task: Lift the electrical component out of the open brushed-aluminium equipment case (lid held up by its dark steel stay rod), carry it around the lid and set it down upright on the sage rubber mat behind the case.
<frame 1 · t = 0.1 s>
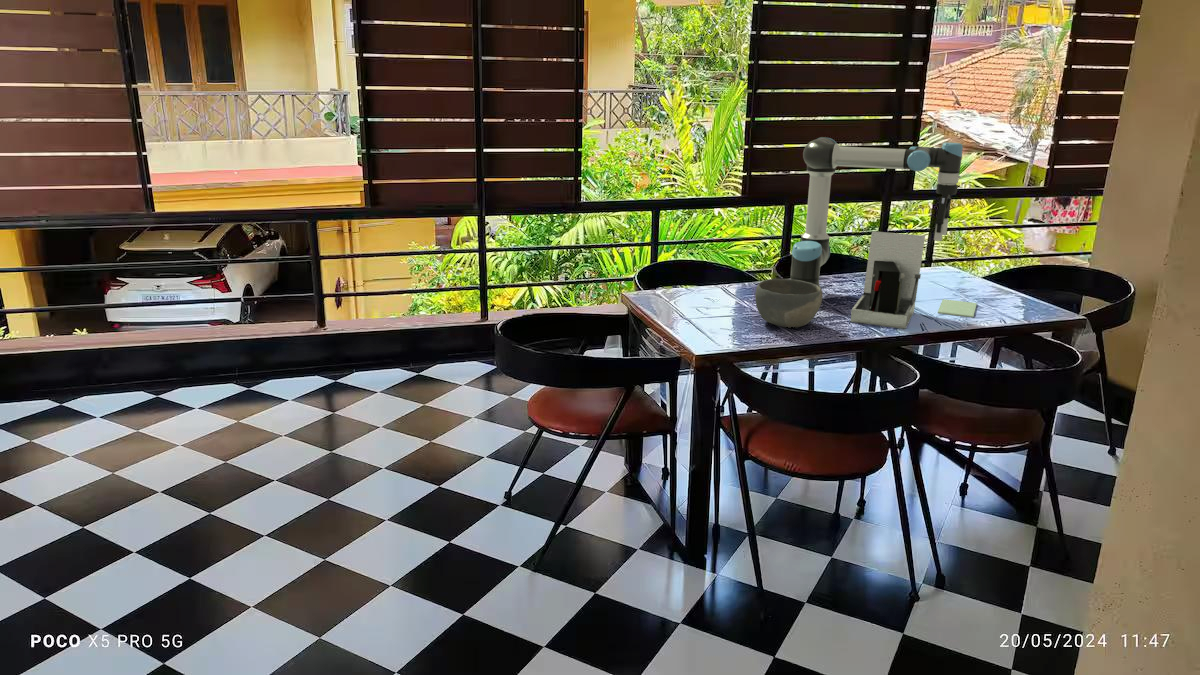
hand: (940, 237, 334), 28 cm above the table, fingers open, 13 cm apart
mat: (957, 308, 339), on the table
bowl: (786, 324, 317), on the table
electrical component: (882, 316, 327), resting on case
case: (882, 316, 327), on the table
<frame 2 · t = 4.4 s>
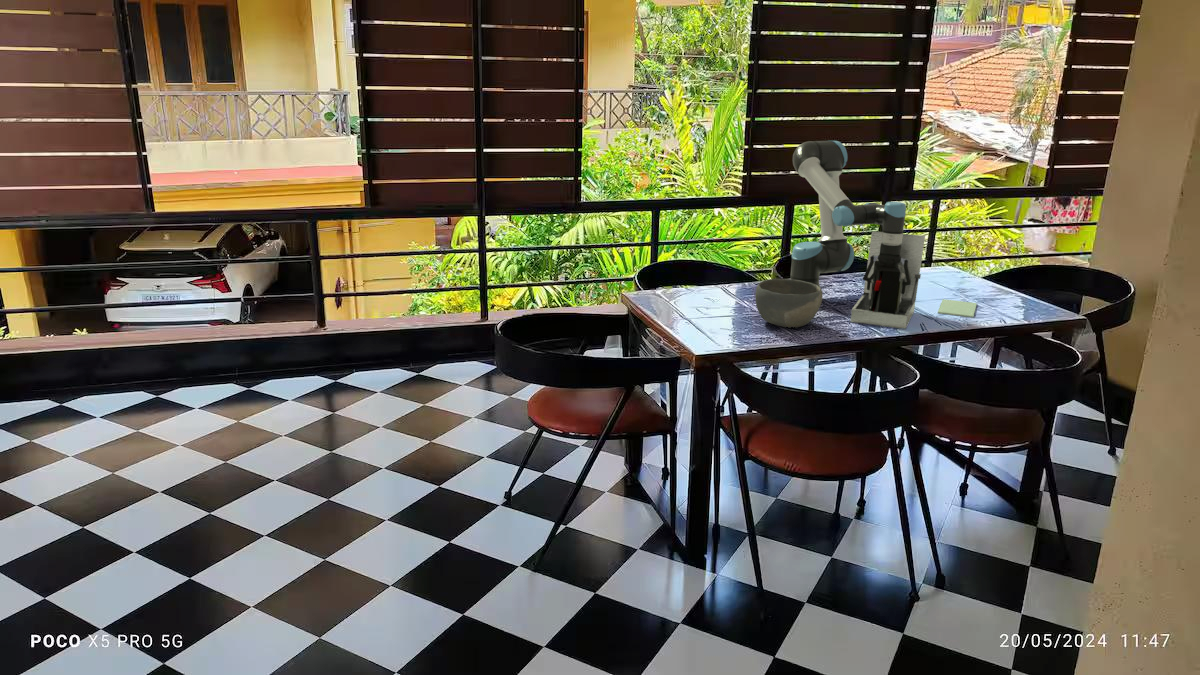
hand: (884, 300, 325), 7 cm above the table, fingers open, 10 cm apart
electrical component: (882, 316, 327), resting on case, touching gripper
everything else where it was.
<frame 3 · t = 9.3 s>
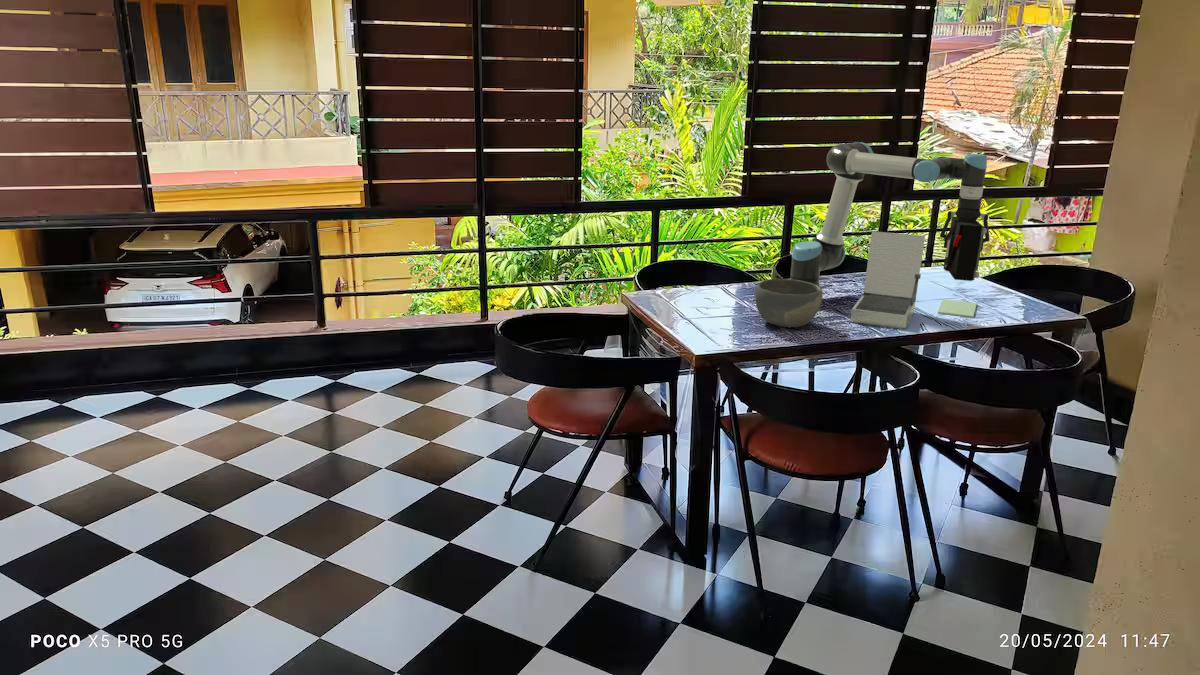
hand: (961, 258, 311), 25 cm above the table
electrical component: (959, 275, 313), point 19 cm above the table, touching gripper, hand
everything else where it was.
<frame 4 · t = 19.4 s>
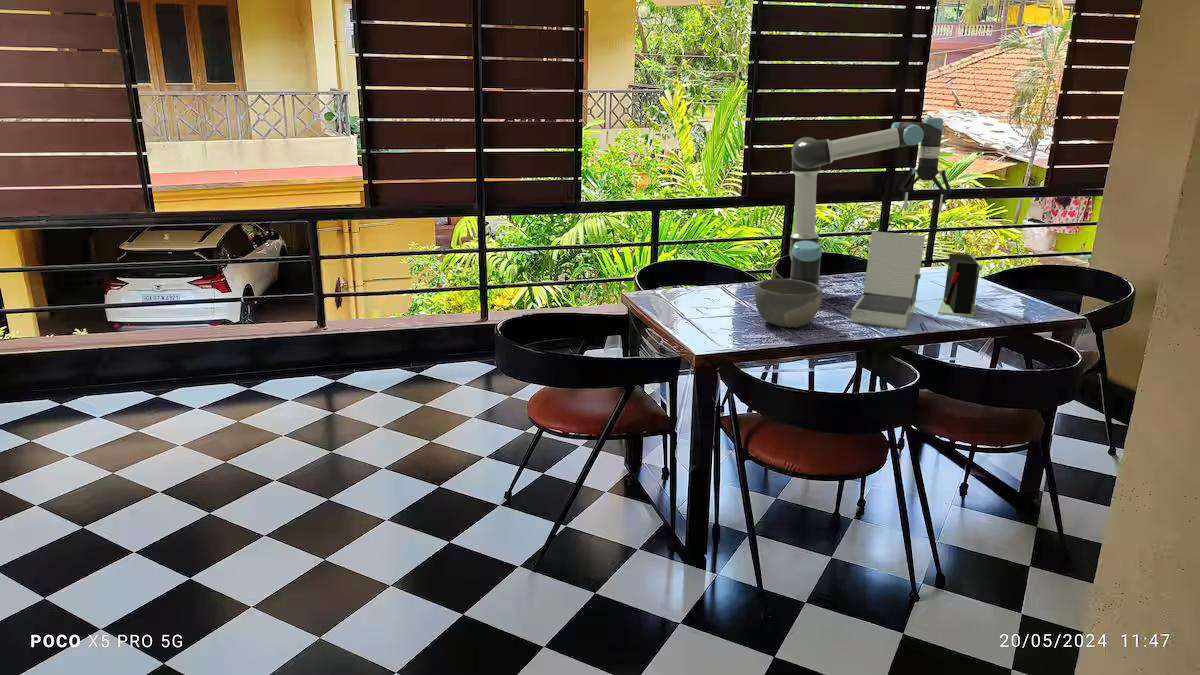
hand: (922, 209, 346), 37 cm above the table, fingers open, 13 cm apart
electrical component: (958, 307, 339), resting on mat
everything else where it was.
at the end: electrical component 0.3 cm from the mat (horizontally); electrical component tilted 0°; the gripper is holding nothing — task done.
